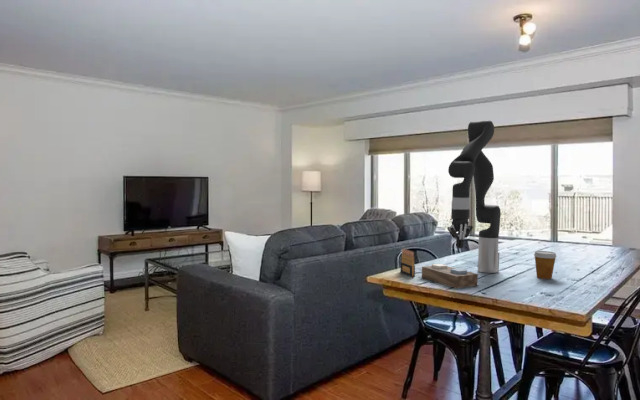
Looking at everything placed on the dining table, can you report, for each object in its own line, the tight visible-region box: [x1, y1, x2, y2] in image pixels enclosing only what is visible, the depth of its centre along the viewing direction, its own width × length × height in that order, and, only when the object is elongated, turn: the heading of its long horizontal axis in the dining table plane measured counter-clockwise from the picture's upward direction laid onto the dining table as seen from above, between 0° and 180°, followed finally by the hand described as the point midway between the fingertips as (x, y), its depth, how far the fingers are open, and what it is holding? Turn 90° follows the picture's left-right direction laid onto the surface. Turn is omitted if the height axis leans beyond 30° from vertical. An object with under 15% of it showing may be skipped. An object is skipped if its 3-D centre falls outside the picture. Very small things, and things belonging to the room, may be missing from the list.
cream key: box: [431, 263, 448, 269], centre depth 200 cm, size 5×5×4 cm
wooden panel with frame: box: [399, 247, 416, 278], centre depth 208 cm, size 11×2×12 cm, turn 18°
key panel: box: [421, 265, 479, 289], centre depth 195 cm, size 12×22×5 cm, turn 27°
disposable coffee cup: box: [533, 250, 557, 280], centre depth 205 cm, size 10×10×12 cm
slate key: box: [451, 267, 468, 275], centre depth 189 cm, size 5×5×4 cm
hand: (459, 247), depth 189 cm, fingers closed
